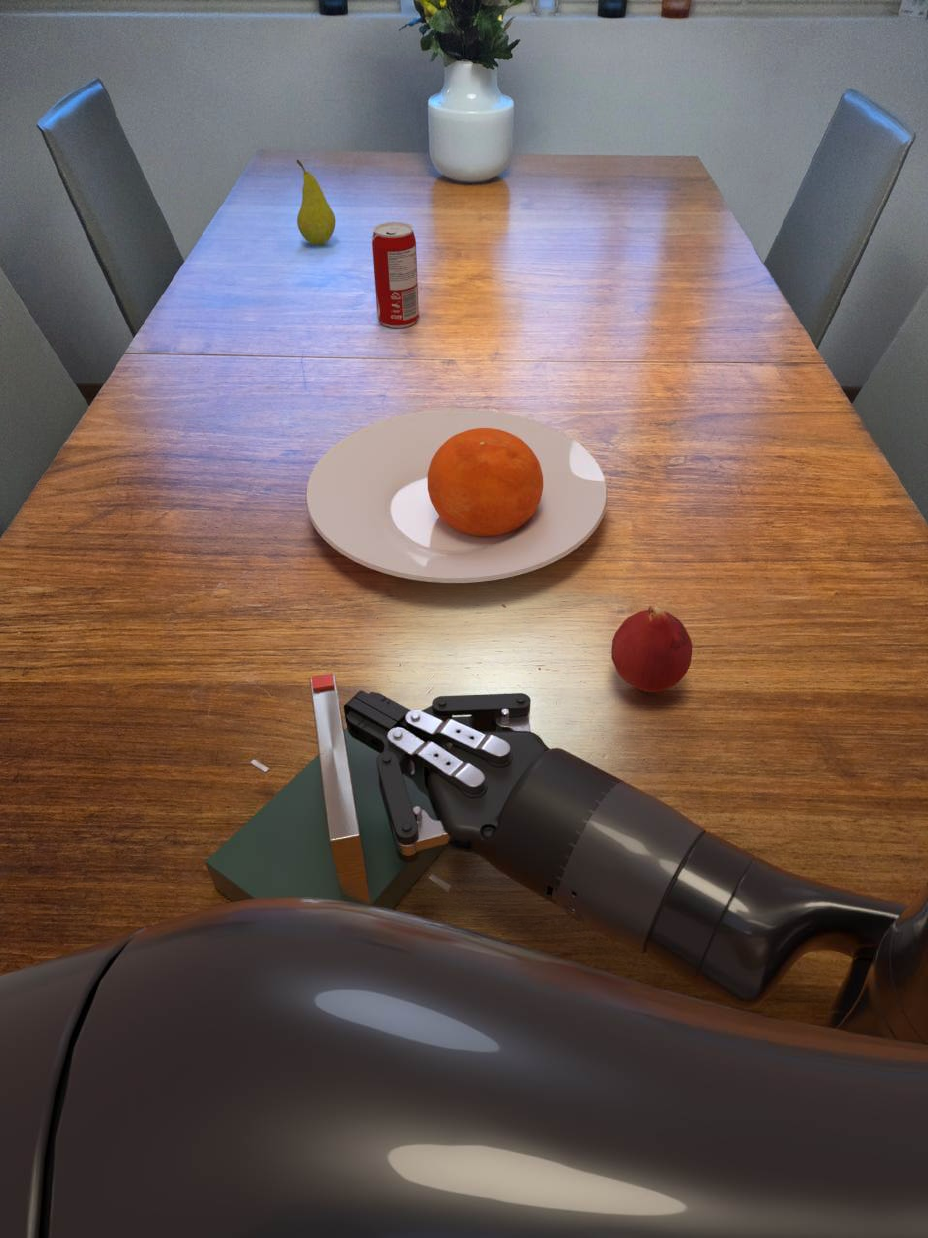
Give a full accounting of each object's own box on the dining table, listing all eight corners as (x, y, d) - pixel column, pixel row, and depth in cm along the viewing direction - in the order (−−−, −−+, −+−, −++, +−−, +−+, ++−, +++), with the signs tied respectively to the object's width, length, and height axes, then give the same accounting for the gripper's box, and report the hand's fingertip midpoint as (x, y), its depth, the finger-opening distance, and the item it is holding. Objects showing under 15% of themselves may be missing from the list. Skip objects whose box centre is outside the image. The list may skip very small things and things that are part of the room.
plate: (247, 530, 82) (230, 451, 76) (434, 410, 98) (431, 337, 92) (489, 658, 69) (490, 574, 63) (657, 496, 86) (670, 418, 80)
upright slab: (370, 905, 50) (360, 832, 45) (343, 910, 50) (329, 838, 45) (345, 745, 59) (334, 670, 54) (322, 749, 59) (308, 674, 54)
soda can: (388, 309, 119) (382, 216, 111) (425, 315, 117) (422, 221, 109) (370, 325, 115) (363, 230, 107) (408, 331, 113) (404, 236, 105)
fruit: (340, 248, 136) (332, 164, 128) (303, 252, 135) (292, 167, 126) (334, 235, 140) (325, 153, 132) (297, 239, 139) (286, 156, 131)
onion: (668, 655, 69) (685, 577, 64) (694, 708, 65) (714, 630, 60) (597, 664, 69) (608, 586, 63) (619, 719, 64) (633, 640, 59)
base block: (363, 1027, 48) (358, 1001, 46) (167, 875, 55) (155, 847, 53) (522, 823, 58) (524, 794, 56) (338, 716, 65) (334, 687, 63)
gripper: (663, 723, 48) (414, 603, 56) (536, 903, 40) (265, 735, 48) (645, 804, 53) (419, 685, 61) (529, 978, 45) (285, 816, 53)
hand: (352, 707), depth 54 cm, fingers closed
